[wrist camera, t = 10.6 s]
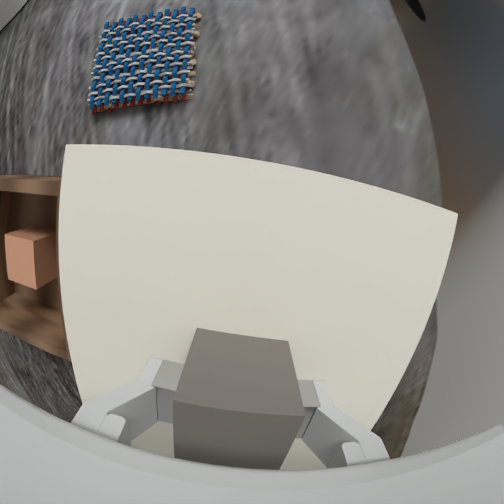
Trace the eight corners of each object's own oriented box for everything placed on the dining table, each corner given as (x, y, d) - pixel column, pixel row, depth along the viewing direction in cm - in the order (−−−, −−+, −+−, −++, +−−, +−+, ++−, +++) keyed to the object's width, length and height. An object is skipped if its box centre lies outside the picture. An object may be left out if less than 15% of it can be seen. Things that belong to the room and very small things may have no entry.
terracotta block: (33, 266, 23) (8, 279, 19) (32, 225, 22) (4, 234, 18) (62, 274, 23) (36, 289, 19) (61, 231, 22) (33, 241, 18)
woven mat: (92, 118, 21) (81, 114, 19) (107, 30, 18) (99, 23, 16) (195, 105, 21) (191, 98, 19) (203, 13, 19) (201, 3, 17)
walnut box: (15, 295, 25) (-19, 317, 18) (11, 174, 21) (-31, 178, 14) (108, 327, 26) (77, 364, 19) (112, 181, 22) (68, 182, 15)
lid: (104, 411, 14) (69, 477, 8) (93, 148, 10) (-7, 136, 4) (337, 443, 15) (357, 513, 9) (430, 207, 11) (527, 231, 5)
